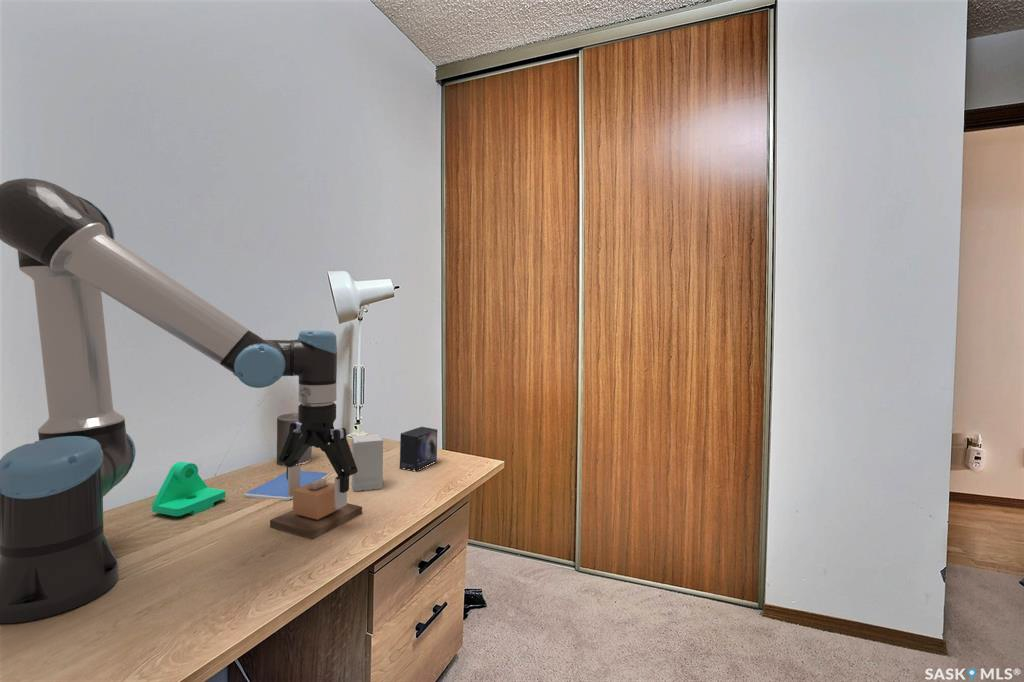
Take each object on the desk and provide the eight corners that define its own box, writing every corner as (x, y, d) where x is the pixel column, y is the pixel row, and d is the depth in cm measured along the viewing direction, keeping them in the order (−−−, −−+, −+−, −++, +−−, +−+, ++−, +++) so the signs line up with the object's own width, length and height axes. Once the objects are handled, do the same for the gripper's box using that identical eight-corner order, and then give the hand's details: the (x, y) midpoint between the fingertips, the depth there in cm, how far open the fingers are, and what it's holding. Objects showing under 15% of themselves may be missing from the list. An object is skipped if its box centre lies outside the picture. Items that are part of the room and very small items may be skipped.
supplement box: (383, 488, 122) (383, 440, 121) (352, 492, 119) (352, 442, 118) (380, 479, 129) (380, 433, 128) (351, 482, 126) (351, 435, 125)
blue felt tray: (290, 473, 134) (290, 468, 134) (332, 476, 132) (332, 471, 132) (241, 499, 115) (241, 493, 115) (290, 503, 113) (290, 497, 113)
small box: (416, 472, 135) (417, 436, 135) (398, 469, 138) (398, 433, 137) (438, 462, 145) (438, 428, 144) (420, 459, 147) (421, 426, 147)
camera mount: (178, 521, 101) (177, 474, 100) (152, 516, 103) (151, 469, 103) (227, 501, 112) (227, 458, 112) (203, 497, 115) (202, 454, 114)
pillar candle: (270, 461, 142) (270, 412, 141) (301, 454, 150) (301, 407, 149) (287, 468, 136) (287, 417, 135) (318, 460, 144) (319, 411, 143)
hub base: (312, 539, 94) (312, 497, 94) (269, 527, 99) (269, 486, 98) (362, 513, 107) (362, 475, 106) (322, 503, 112) (322, 467, 111)
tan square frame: (317, 519, 98) (317, 494, 98) (293, 513, 101) (293, 489, 101) (342, 507, 104) (342, 484, 104) (318, 501, 107) (318, 479, 107)
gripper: (261, 399, 103) (261, 496, 104) (349, 412, 93) (348, 518, 94) (290, 395, 110) (289, 485, 111) (375, 406, 100) (374, 505, 101)
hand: (316, 500), depth 102 cm, fingers open, 13 cm apart
